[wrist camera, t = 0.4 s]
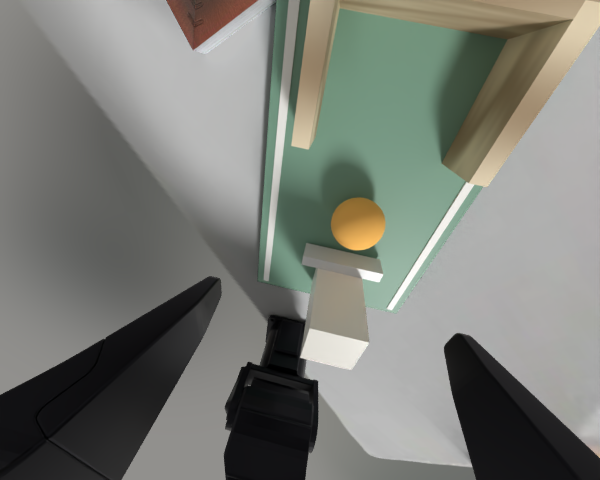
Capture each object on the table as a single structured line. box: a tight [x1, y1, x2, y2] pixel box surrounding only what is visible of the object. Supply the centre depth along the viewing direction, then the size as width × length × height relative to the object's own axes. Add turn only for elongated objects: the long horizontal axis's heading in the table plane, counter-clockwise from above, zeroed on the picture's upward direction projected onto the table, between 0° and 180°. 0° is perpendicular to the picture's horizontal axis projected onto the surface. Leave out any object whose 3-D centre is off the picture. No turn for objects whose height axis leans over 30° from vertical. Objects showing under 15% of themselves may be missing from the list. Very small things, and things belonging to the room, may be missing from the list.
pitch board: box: [257, 0, 508, 314], centre depth 18 cm, size 24×16×1 cm, turn 171°
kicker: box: [300, 243, 383, 370], centre depth 19 cm, size 5×7×8 cm
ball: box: [331, 197, 386, 250], centre depth 17 cm, size 4×4×4 cm
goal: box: [291, 0, 600, 187], centre depth 12 cm, size 8×11×4 cm
